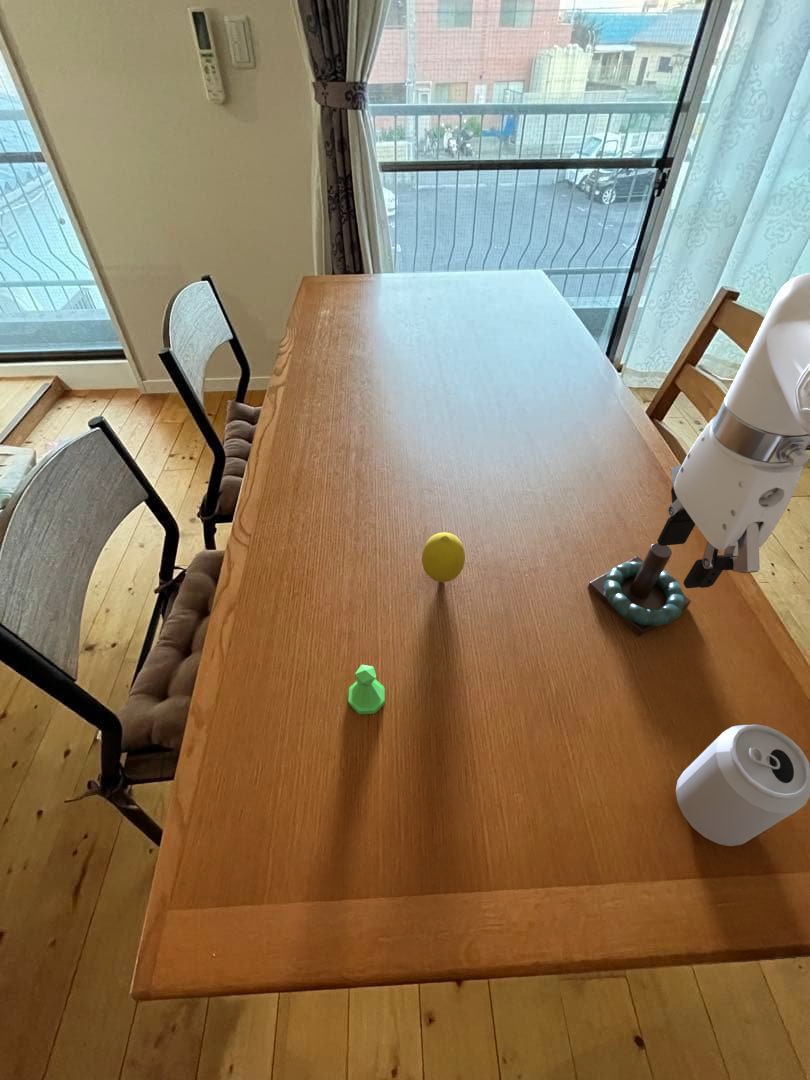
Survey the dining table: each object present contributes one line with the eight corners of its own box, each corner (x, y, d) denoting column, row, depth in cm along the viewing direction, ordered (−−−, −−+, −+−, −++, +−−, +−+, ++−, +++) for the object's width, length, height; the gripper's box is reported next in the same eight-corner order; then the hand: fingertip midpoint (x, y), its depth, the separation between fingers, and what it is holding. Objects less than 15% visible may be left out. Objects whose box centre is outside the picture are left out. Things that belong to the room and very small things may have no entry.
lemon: (433, 556, 77) (436, 515, 71) (469, 572, 75) (475, 531, 69) (413, 582, 74) (414, 541, 68) (450, 600, 72) (454, 559, 66)
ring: (697, 609, 70) (703, 599, 68) (642, 640, 66) (647, 631, 65) (640, 558, 75) (645, 549, 74) (587, 585, 72) (591, 575, 71)
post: (687, 606, 71) (718, 559, 65) (639, 637, 68) (666, 591, 61) (634, 561, 77) (657, 513, 70) (587, 588, 73) (606, 540, 67)
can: (756, 861, 51) (830, 820, 43) (672, 832, 53) (726, 787, 44) (750, 782, 56) (815, 731, 48) (672, 758, 58) (722, 705, 49)
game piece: (357, 675, 64) (354, 647, 60) (391, 687, 63) (391, 660, 59) (341, 707, 61) (337, 680, 57) (376, 721, 60) (375, 694, 56)
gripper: (869, 489, 43) (758, 623, 56) (747, 374, 55) (678, 507, 68) (780, 497, 42) (688, 631, 55) (675, 379, 54) (620, 513, 67)
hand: (684, 562), depth 62 cm, fingers open, 5 cm apart
